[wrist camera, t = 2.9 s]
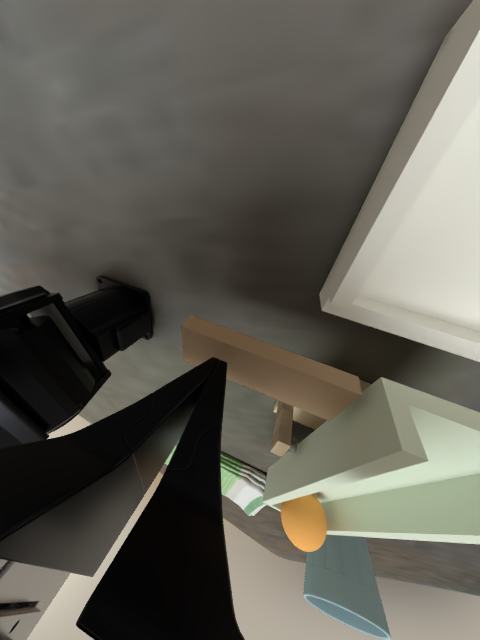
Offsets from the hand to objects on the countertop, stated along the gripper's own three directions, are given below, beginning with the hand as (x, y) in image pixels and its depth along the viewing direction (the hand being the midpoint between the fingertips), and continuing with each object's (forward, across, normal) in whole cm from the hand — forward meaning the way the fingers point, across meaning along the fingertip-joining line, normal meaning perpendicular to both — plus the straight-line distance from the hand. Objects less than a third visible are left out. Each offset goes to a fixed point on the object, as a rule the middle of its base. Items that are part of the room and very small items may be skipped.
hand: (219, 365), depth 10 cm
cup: (+8, -19, +25) cm, 32 cm away
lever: (+3, -6, +8) cm, 10 cm away
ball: (+1, -11, +16) cm, 19 cm away
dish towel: (+9, -1, +38) cm, 39 cm away
